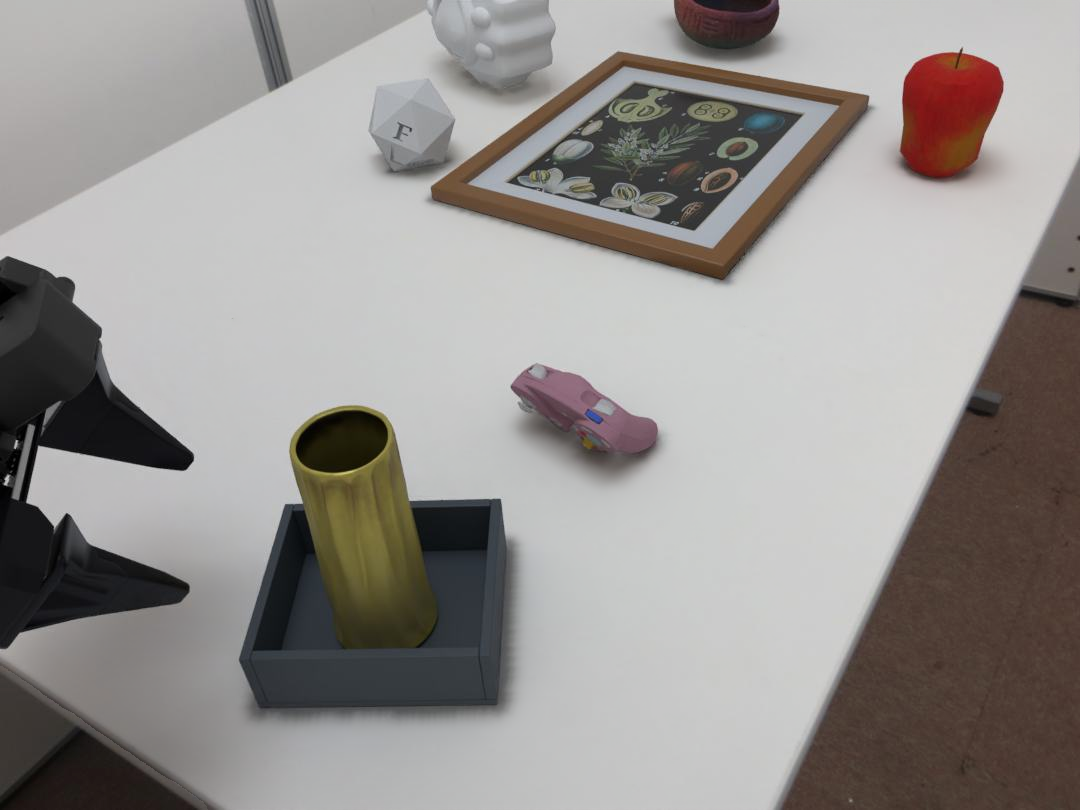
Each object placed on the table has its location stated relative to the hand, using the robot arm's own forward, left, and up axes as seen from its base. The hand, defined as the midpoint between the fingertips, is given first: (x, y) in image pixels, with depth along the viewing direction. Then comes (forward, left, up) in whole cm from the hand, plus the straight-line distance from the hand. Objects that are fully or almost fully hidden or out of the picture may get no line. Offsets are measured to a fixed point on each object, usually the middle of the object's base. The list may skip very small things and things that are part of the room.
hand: (188, 524), depth 49 cm
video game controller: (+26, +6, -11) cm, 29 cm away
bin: (+8, -2, -11) cm, 14 cm away
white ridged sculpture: (+49, +66, -11) cm, 83 cm away
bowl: (+77, +60, -11) cm, 98 cm away
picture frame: (+55, +39, -11) cm, 68 cm away
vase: (+8, -2, -11) cm, 14 cm away
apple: (+75, +21, -11) cm, 79 cm away
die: (+33, +52, -11) cm, 63 cm away
